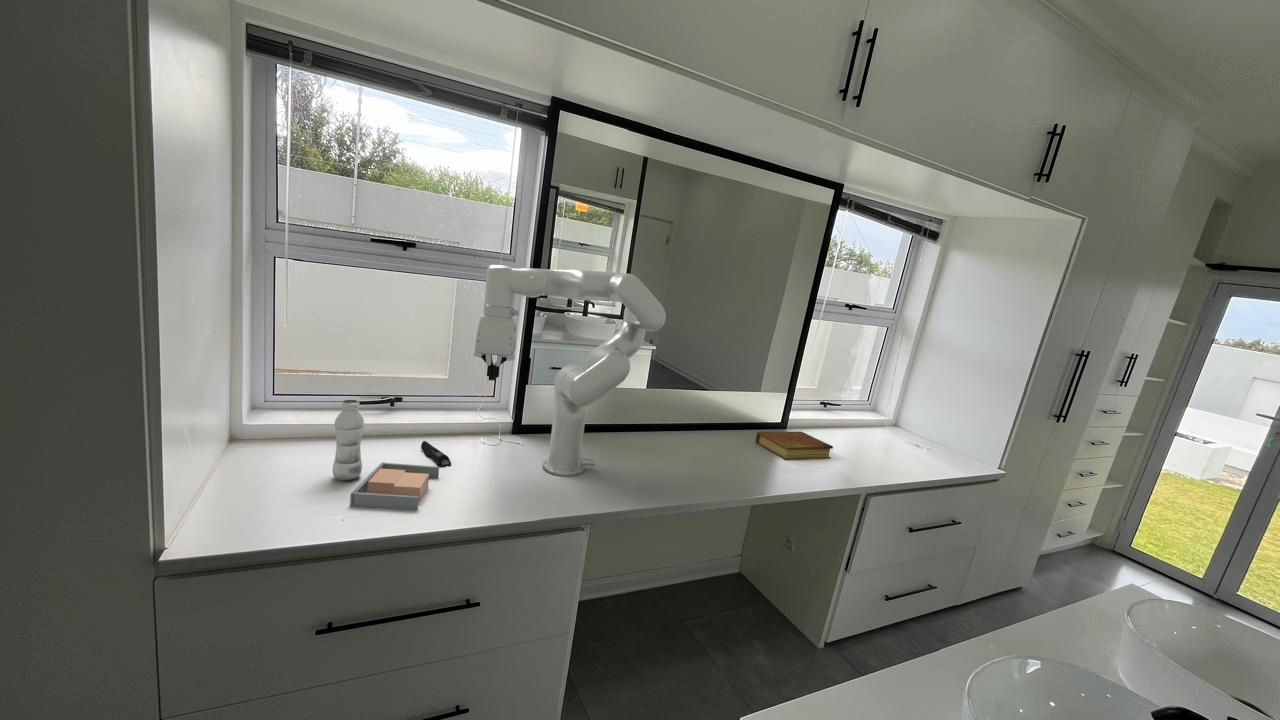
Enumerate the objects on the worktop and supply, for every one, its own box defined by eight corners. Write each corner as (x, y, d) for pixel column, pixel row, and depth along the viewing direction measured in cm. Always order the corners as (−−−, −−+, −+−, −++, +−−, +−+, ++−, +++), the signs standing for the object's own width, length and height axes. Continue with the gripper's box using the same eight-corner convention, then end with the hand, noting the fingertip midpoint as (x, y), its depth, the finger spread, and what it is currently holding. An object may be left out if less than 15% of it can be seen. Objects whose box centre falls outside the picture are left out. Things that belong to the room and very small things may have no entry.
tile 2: (428, 488, 124) (429, 473, 124) (419, 503, 116) (420, 487, 116) (403, 487, 123) (403, 472, 122) (392, 502, 115) (393, 486, 115)
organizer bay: (438, 477, 131) (439, 466, 130) (416, 509, 113) (417, 497, 112) (381, 473, 128) (381, 462, 128) (349, 505, 111) (350, 493, 110)
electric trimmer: (430, 449, 150) (430, 439, 149) (452, 466, 139) (452, 456, 139) (417, 451, 147) (418, 441, 147) (439, 469, 136) (439, 458, 136)
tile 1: (404, 484, 124) (405, 470, 124) (394, 499, 117) (395, 483, 116) (379, 483, 123) (380, 468, 123) (367, 497, 116) (367, 481, 115)
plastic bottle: (330, 484, 119) (333, 405, 116) (333, 473, 125) (336, 397, 122) (361, 482, 122) (365, 405, 119) (362, 471, 128) (365, 398, 125)
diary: (797, 443, 210) (800, 430, 209) (830, 460, 194) (833, 446, 193) (754, 444, 201) (757, 430, 200) (785, 461, 184) (788, 446, 183)
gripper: (528, 314, 135) (521, 379, 138) (472, 307, 132) (466, 373, 135) (525, 317, 127) (518, 385, 130) (466, 310, 125) (460, 379, 128)
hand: (492, 379), depth 133 cm, fingers closed
